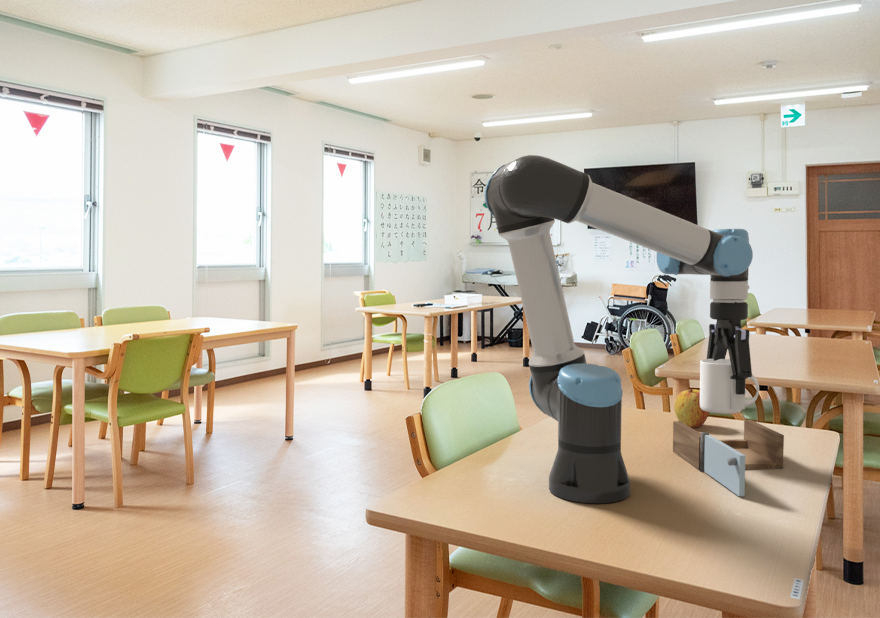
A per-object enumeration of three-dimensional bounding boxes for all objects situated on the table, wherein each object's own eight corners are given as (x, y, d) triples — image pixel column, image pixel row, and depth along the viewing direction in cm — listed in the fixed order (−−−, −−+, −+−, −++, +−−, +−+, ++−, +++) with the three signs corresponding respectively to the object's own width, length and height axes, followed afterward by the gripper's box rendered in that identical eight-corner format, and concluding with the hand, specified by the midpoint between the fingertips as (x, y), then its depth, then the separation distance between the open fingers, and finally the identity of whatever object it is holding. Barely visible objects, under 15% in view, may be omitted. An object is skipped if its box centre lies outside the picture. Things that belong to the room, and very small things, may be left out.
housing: (701, 472, 142) (702, 434, 142) (672, 451, 158) (673, 416, 157) (787, 470, 143) (788, 432, 143) (749, 449, 159) (750, 415, 158)
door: (698, 471, 142) (699, 435, 141) (708, 471, 142) (709, 434, 142) (732, 496, 127) (733, 455, 127) (744, 496, 127) (745, 455, 127)
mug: (753, 418, 143) (754, 366, 142) (694, 411, 150) (694, 362, 149) (763, 411, 149) (764, 361, 149) (706, 404, 157) (707, 357, 156)
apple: (710, 431, 176) (711, 392, 175) (672, 429, 179) (673, 390, 178) (710, 423, 184) (710, 386, 184) (674, 421, 187) (674, 384, 187)
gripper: (772, 303, 138) (770, 415, 140) (723, 297, 160) (721, 394, 162) (735, 304, 138) (733, 415, 140) (691, 298, 160) (689, 395, 161)
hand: (727, 404), depth 151 cm, fingers closed on mug, 9 cm apart
